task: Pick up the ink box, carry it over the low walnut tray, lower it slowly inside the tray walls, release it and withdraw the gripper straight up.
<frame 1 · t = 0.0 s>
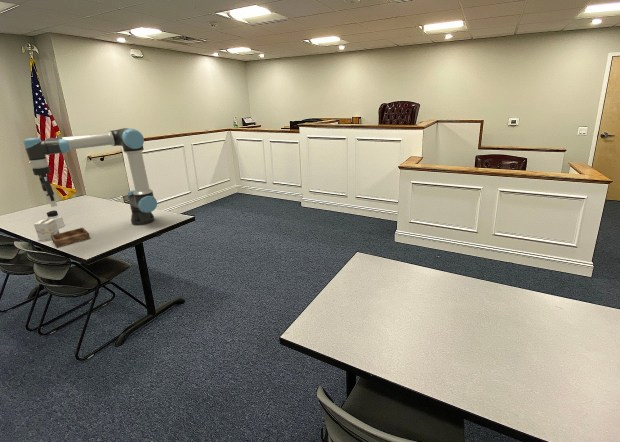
hand: (52, 204, 198), 28 cm above the table, fingers open, 13 cm apart
ink box: (50, 238, 226), on the table
walnut tray: (71, 240, 220), on the table
medicine bottle: (56, 227, 245), on the table
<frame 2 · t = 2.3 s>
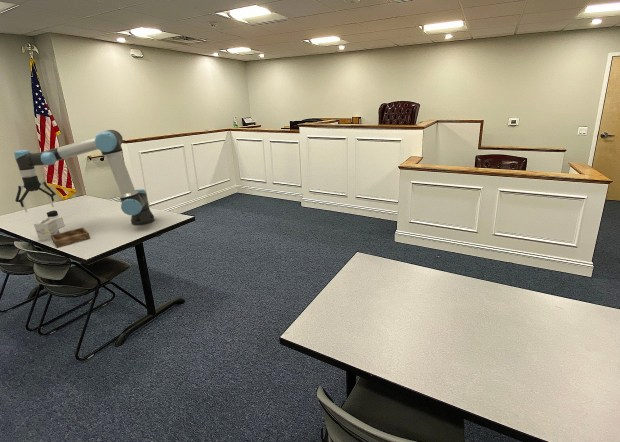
hand: (40, 209, 219), 20 cm above the table, fingers open, 13 cm apart
nothing on the table moved.
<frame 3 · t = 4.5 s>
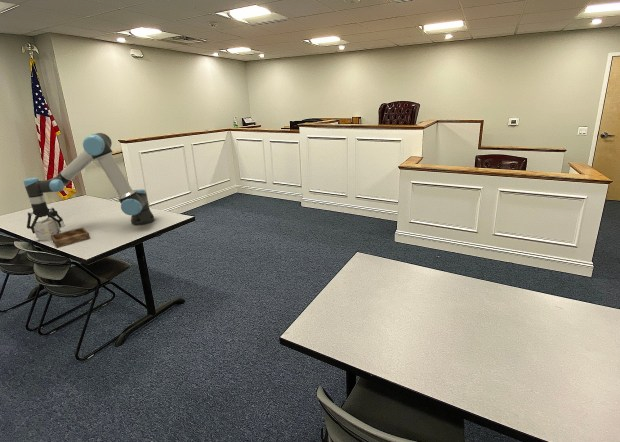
hand: (48, 234, 225), 2 cm above the table, fingers closed on ink box, 11 cm apart
ink box: (50, 238, 226), on the table, touching gripper
everything else where it was.
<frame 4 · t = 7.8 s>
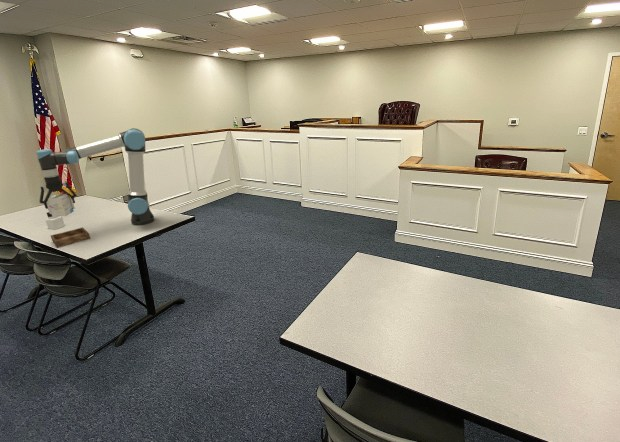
hand: (62, 210, 214), 19 cm above the table, fingers closed on ink box, 11 cm apart
ink box: (63, 214, 215), point 17 cm above the table, touching gripper
everything else where it was.
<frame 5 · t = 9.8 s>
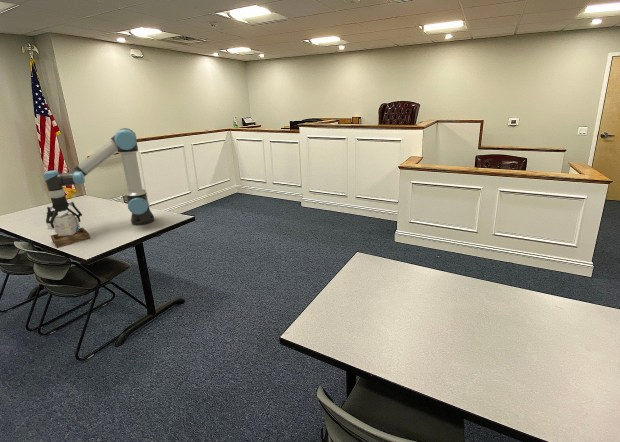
hand: (68, 229, 218), 7 cm above the table, fingers closed on ink box, 11 cm apart
ink box: (69, 233, 219), point 5 cm above the table, touching gripper
everything else where it was.
when the fingers open (5 cm above the table, at t = 11.4 s): ink box drops 1 cm, resting on walnut tray.
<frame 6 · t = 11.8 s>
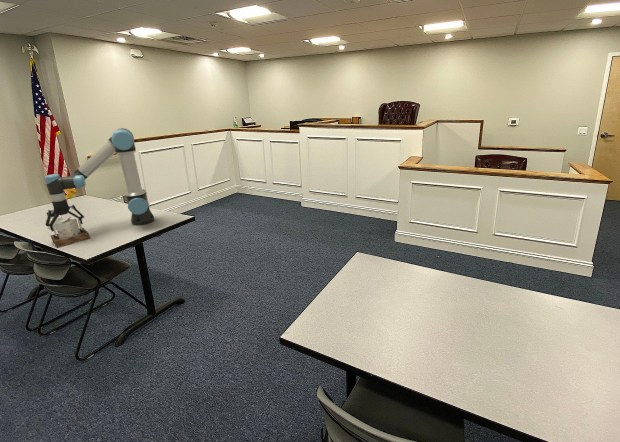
hand: (69, 232, 219), 5 cm above the table, fingers open, 13 cm apart
ink box: (71, 238, 220), point 1 cm above the table, touching walnut tray
everything else where it was.
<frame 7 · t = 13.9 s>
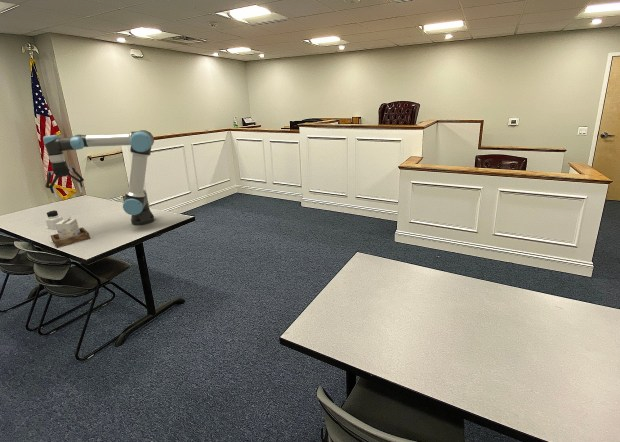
hand: (69, 195, 218), 27 cm above the table, fingers open, 13 cm apart
nothing on the table moved.
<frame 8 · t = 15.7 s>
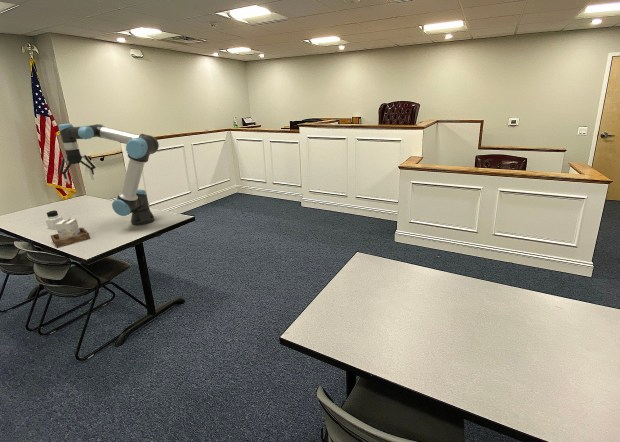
hand: (81, 181, 228), 33 cm above the table, fingers open, 13 cm apart
nothing on the table moved.
at the end: ink box inside the target area on the walnut tray (0.1 cm from its centre), point 0.8 cm above the walnut tray's base; ink box tilted 0°; the gripper is holding nothing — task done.
